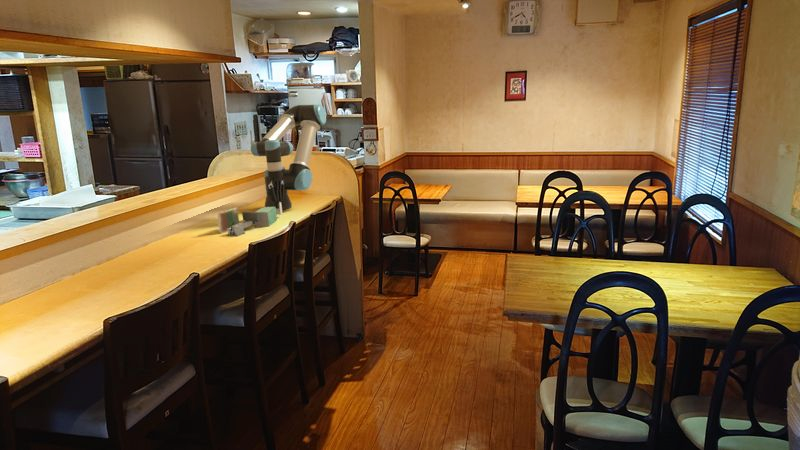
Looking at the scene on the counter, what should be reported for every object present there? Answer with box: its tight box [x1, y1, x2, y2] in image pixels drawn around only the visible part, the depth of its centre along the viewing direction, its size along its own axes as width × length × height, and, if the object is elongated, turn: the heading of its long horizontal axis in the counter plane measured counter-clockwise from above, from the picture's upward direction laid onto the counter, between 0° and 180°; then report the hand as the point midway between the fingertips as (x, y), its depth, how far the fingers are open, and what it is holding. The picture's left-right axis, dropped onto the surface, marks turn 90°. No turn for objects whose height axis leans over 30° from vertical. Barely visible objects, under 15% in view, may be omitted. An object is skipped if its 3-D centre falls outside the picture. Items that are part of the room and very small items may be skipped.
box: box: [254, 206, 278, 228], centre depth 268 cm, size 7×14×8 cm, turn 175°
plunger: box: [232, 210, 260, 231], centre depth 254 cm, size 14×12×6 cm
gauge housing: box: [217, 206, 246, 237], centre depth 254 cm, size 15×12×10 cm
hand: (279, 214), depth 280 cm, fingers closed
